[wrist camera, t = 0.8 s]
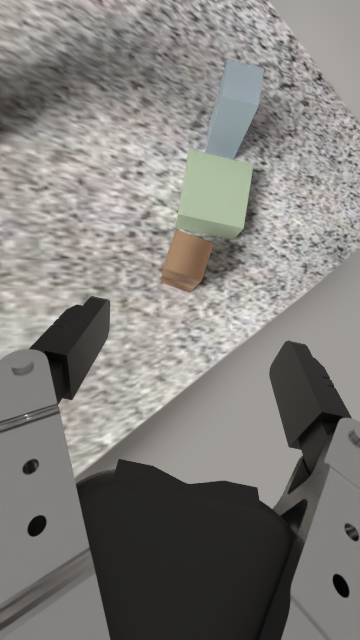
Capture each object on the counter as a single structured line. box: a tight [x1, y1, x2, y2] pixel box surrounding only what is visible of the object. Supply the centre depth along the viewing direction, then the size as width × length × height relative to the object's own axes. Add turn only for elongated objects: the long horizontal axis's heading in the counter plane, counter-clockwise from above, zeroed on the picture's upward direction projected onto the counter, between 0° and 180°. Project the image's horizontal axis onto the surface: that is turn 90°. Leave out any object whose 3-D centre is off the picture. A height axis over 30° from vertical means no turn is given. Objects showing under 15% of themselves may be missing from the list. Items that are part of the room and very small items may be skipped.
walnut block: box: [161, 229, 214, 292], centre depth 34 cm, size 5×5×10 cm
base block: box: [176, 149, 253, 240], centre depth 38 cm, size 10×10×5 cm
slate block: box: [205, 59, 264, 159], centre depth 35 cm, size 5×5×10 cm
